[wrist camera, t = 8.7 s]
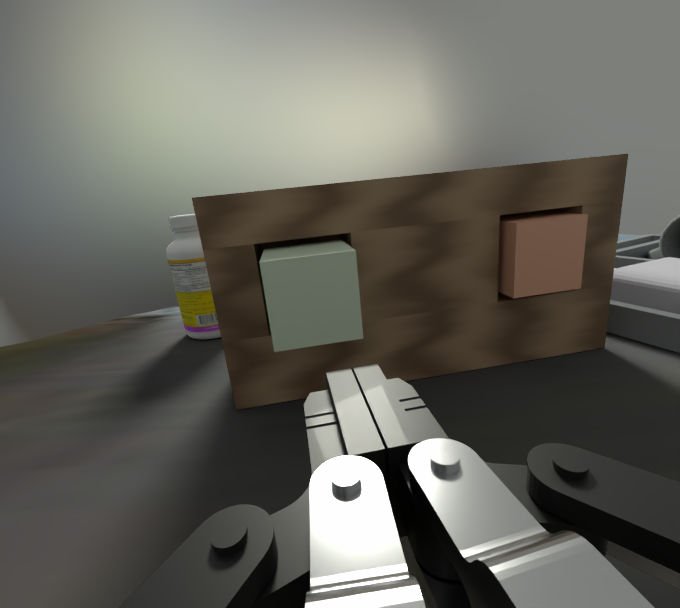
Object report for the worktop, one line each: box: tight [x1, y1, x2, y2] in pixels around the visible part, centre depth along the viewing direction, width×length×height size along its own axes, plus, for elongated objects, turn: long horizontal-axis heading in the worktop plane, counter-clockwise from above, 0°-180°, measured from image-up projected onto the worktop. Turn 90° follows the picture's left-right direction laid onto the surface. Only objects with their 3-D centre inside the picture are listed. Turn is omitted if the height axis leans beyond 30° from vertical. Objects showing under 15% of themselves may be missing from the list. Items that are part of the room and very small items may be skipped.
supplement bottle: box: [166, 214, 221, 339], centre depth 40 cm, size 7×7×13 cm
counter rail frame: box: [606, 234, 680, 353], centre depth 40 cm, size 35×24×2 cm
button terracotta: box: [498, 212, 588, 298], centre depth 27 cm, size 5×5×5 cm
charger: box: [610, 257, 680, 314], centre depth 33 cm, size 5×9×15 cm
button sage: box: [259, 240, 363, 352], centre depth 22 cm, size 5×5×5 cm
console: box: [192, 154, 628, 410], centre depth 28 cm, size 28×8×14 cm, turn 98°
